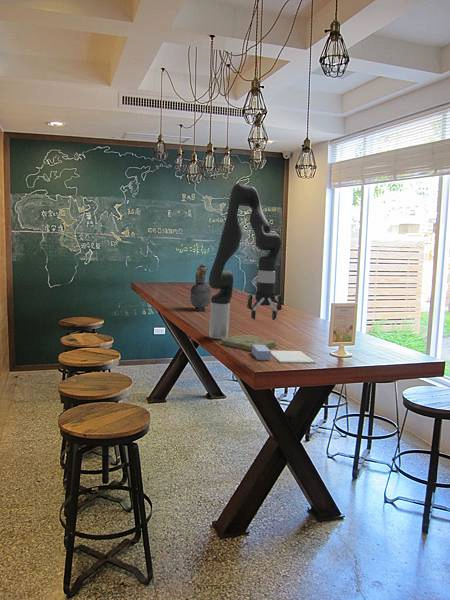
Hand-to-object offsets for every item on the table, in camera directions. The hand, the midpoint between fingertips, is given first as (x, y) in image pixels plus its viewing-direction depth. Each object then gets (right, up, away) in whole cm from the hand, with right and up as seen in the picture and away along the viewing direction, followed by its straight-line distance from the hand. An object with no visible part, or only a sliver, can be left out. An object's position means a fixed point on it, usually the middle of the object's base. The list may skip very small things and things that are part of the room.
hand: (263, 319), depth 223 cm
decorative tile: (-5, -14, +23) cm, 27 cm away
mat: (+12, -16, +4) cm, 20 cm away
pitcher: (-33, +2, +122) cm, 126 cm away
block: (-1, -16, +2) cm, 16 cm away
